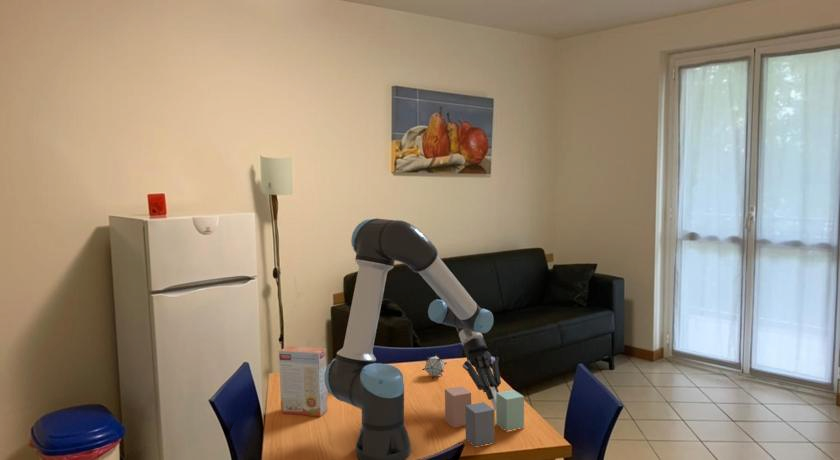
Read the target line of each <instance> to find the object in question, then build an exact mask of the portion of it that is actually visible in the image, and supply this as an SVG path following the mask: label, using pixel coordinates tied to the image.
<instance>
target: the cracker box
mask: <svg viewBox="0 0 840 460" xmlns="http://www.w3.org/2000/svg"><path fill="white" fill-rule="evenodd" d="M326 351H327V349H326V348H322V347H320V348H319V347H306V346H305V347H304V346H291V345H288V346H285V347H284V348H282V349H280V350H278V355H279V357H278V358H279V359H278V360H279V361H278V362H279V388H280V389H279V391H280V392H279V393H280V410H281V411H280V413H281V414H291V415H301V416H309V417H322V416H323V414H325V413H326V412H327V411H328V390H327V388H326V386H325V381H324V376H325V371H326V368H327V356H326V355H327V353H326Z"/></svg>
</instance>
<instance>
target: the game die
mask: <svg viewBox="0 0 840 460" xmlns="http://www.w3.org/2000/svg"><path fill="white" fill-rule="evenodd" d="M426 359H427V360H425V362H426V363H425V365H424V366H425V367H424V368H422V371H426V372H427V373H428V374H429V375H430V376H431V377H432V378H431V379H433V380H434V378H435V377H437V376H444V375H443V374H442V373H444V369H445V366H446V365H447V364H448V362H444V360H442V359H441V358H440V357H439V356H438V354H437V353H436V354H435V355H434V356H431V357H429V356H426Z"/></svg>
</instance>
